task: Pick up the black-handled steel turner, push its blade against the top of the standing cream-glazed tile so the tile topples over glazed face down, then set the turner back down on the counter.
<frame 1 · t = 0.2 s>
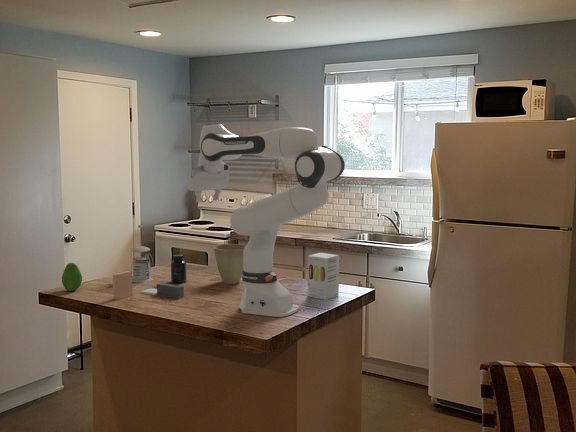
hand: (207, 201, 230), 39 cm above the countertop, tool pointing down, fingers open, 8 cm apart
supplement bottle: (178, 282, 263), on the countertop
french press: (143, 280, 267), on the countertop
plant pot: (231, 282, 263), on the countertop
avocado: (72, 291, 247), on the countertop
glazed tile: (123, 297, 236), on the countertop
supplement box: (323, 296, 239), on the countertop
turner: (159, 293, 242), on the countertop
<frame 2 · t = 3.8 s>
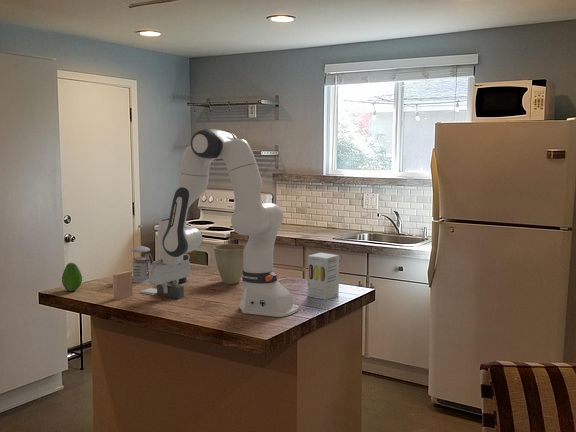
hand: (170, 291, 239), 2 cm above the countertop, tool pointing down, fingers closed on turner, 3 cm apart
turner: (159, 293, 242), on the countertop, touching gripper
everything else where it was.
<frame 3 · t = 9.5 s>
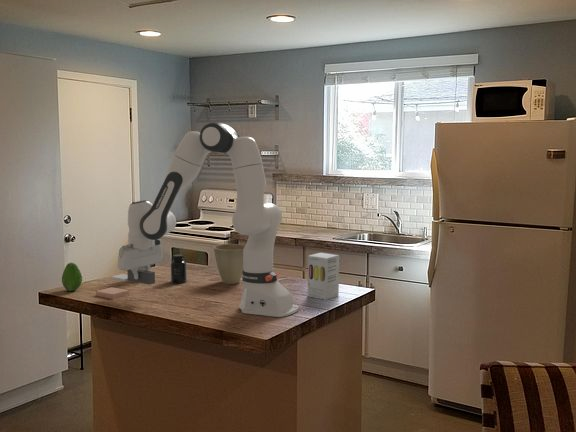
hand: (141, 277, 230), 9 cm above the countertop, tool pointing down, fingers closed on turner, 3 cm apart
glazed tile: (120, 294, 237), point 1 cm above the countertop, tilted 90°
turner: (130, 279, 233), point 8 cm above the countertop, touching gripper
everything else where it was.
when the fingers open (3 cm above the countertop, at t = 15.7 s): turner drops 1 cm, on the countertop.
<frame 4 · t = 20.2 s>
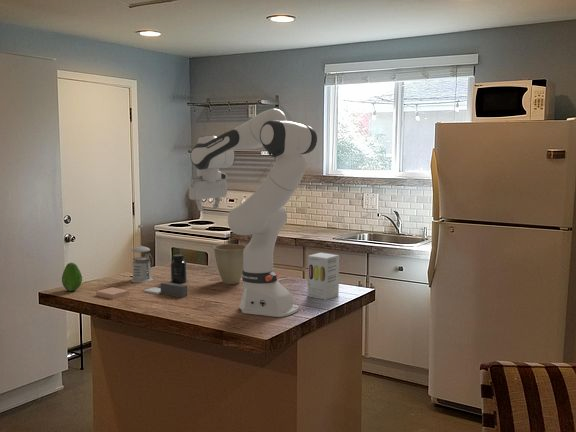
hand: (208, 209, 243), 34 cm above the countertop, tool pointing down, fingers open, 8 cm apart
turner: (163, 292, 244), on the countertop
everything else where it was.
at the end: glazed tile tilted 90°; the gripper is holding nothing; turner on the countertop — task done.
